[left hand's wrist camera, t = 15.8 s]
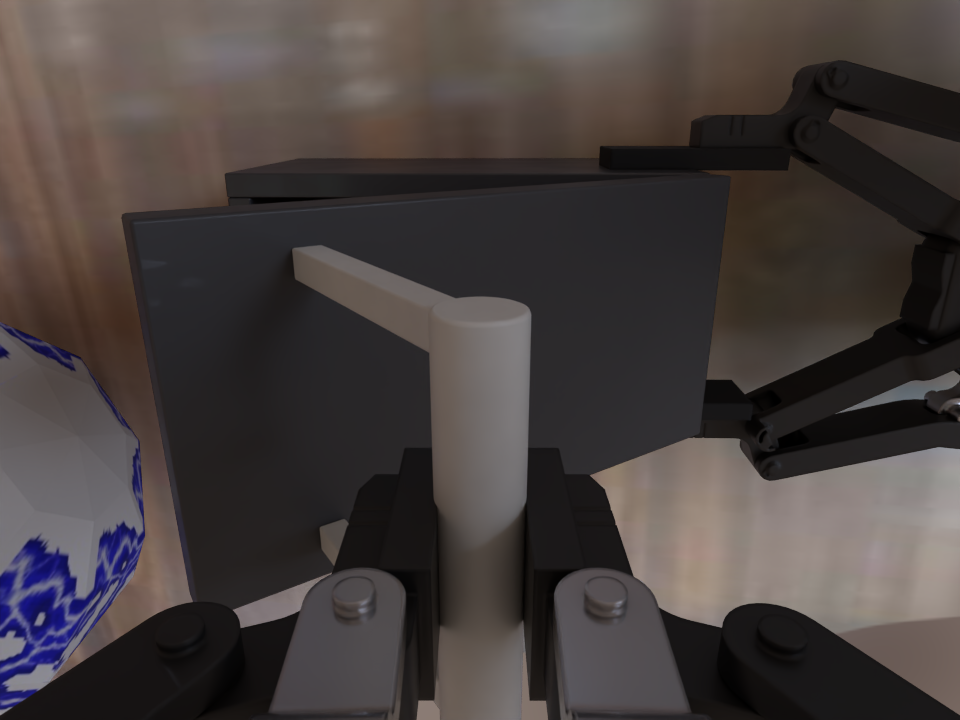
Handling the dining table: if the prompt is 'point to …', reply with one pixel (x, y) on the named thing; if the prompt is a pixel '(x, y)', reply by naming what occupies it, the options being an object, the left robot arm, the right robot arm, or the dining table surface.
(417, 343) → the lid
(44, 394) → the ornament
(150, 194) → the dining table surface
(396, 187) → the chest
